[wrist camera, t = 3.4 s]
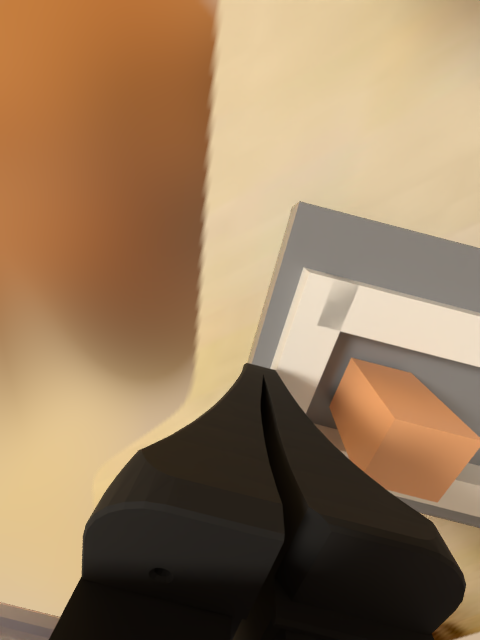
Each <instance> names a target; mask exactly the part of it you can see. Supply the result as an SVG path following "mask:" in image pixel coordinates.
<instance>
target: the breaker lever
mask: <svg viewBox="0 0 480 640" xmlns="http://www.w3.org/2000/svg"><path fill="white" fill-rule="evenodd" d="M329 408H330V411H331V413H332V416H333V418H334V421H335V423H336V426H337V429H338V431H339V434H340V436H341V439H342V442H343V444H344V447H345V449H346V452H347V454H348V457H349V459H350V460H351V461H352V462H353V463H354V464H355V465H356V466H358V467H359V468H360V469H361V470H362V471H363V472H365V473H366V474H367V475H368V476H370V477H371V478H372V479H373V480H375V481H376V482H377V483H379V484H380V485H381V486H382V487H384V488H385V489H386V490H390V491H394V492H398V493H402V494H405V495H409V496H413V497H417V498H421V499H425V500H429V501H433V502H437V503H438V501H439V500H440V499H441V497H442V496H443V495H444V494H445V492H446V491H447V490H448V488H449V487H450V486H451V484H452V483H453V482H454V481H455V479H456V478H457V477H458V475H459V474H460V473H461V471H462V470H463V469H464V467H465V466H466V465H467V464H468V462H469V461H470V460H471V458H472V457H473V456H474V454H475V453H476V452H477V451H478V449H479V448H480V437H479V436H478V435H477V434H476V433H475V432H473V431H472V430H471V429H470V428H469V427H468V426H467V425H466V424H465V423H464V422H463V421H462V420H461V419H460V418H459V417H458V416H456V415H455V414H454V413H453V412H452V411H451V410H450V409H449V408H448V407H447V406H446V405H445V404H444V403H443V402H442V401H441V400H439V399H438V398H437V397H436V396H435V395H434V394H433V393H432V392H431V391H430V390H429V389H428V388H427V387H426V386H425V385H424V384H422V383H421V382H420V381H419V380H418V379H417V378H416V377H415V376H414V375H413V374H412V373H409V372H406V371H402V370H398V369H394V368H390V367H386V366H382V365H378V364H374V363H370V362H367V361H363V360H359V359H355V358H351V359H350V361H349V364H348V366H347V368H346V370H345V373H344V375H343V377H342V379H341V381H340V384H339V386H338V388H337V390H336V392H335V395H334V397H333V399H332V401H331V404H330V406H329Z"/></svg>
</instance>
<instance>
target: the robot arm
mask: <svg viewBox="0 0 480 640" xmlns="http://www.w3.org/2000/svg"><path fill="white" fill-rule="evenodd" d="M465 588H466V583H465V579H464V575H463V573H462V571H461V569H460V567H459V566H458V564H457V562H456V561H455V559H454V557H453V556H452V554H451V552H450V550H449V549H448V547H447V545H446V544H445V542H444V540H443V539H442V537H441V535H440V534H439V532H438V530H437V528H436V527H435V525H434V524H433V522H431V521H430V520H428V519H427V518H426V517H424V516H423V515H421V514H420V513H419V512H417V511H416V510H414V509H413V508H411V507H410V506H409V505H407V504H406V503H404V502H403V501H401V500H400V499H399V498H397V497H396V496H394V495H393V494H391V493H390V492H389V491H387V490H386V489H385V488H384V487H382V486H381V485H380V484H379V483H377V482H376V481H375V480H373V479H372V478H371V477H370V476H368V475H367V474H366V473H365V472H363V471H362V470H361V469H360V468H359V467H358V466H356V465H355V464H354V463H353V462H352V461H351V460H350V459H348V458H347V457H346V456H345V455H344V454H343V453H342V452H341V451H340V450H339V449H338V448H336V447H335V446H334V445H333V444H332V443H331V442H330V441H329V440H328V439H327V438H326V436H325V435H324V434H323V433H322V432H321V431H320V430H319V429H318V428H317V427H316V426H315V425H314V423H313V422H312V421H311V420H310V419H309V417H308V416H307V415H306V414H305V412H304V411H303V410H302V409H301V407H300V406H299V405H298V403H297V402H296V400H295V399H294V398H293V396H292V395H291V393H290V392H289V390H288V389H287V387H286V386H285V384H284V383H283V381H282V379H281V378H280V376H279V375H278V373H277V372H276V370H273V369H269V368H265V367H261V366H258V365H254V364H250V363H246V364H244V367H243V370H242V373H241V374H240V376H239V378H238V379H237V380H236V382H235V383H234V385H233V386H232V387H231V388H230V389H229V391H228V392H227V393H226V394H225V395H224V396H223V397H222V398H221V399H220V400H219V401H218V402H217V403H216V404H215V405H214V406H213V407H212V408H210V409H209V410H208V411H207V412H206V413H204V414H203V415H202V416H200V417H199V418H198V419H196V420H195V421H193V422H192V423H190V424H189V425H187V426H185V427H184V428H182V429H180V430H179V431H177V432H175V433H174V434H172V435H170V436H168V437H167V438H164V439H162V440H160V441H158V442H156V443H154V444H152V445H150V446H148V447H145V448H143V449H141V450H139V451H138V452H137V453H136V454H135V455H134V456H133V457H132V458H131V460H130V461H129V462H128V463H127V464H126V465H125V467H124V468H123V469H122V470H121V472H120V473H119V474H118V475H117V477H116V478H115V479H114V481H113V482H112V483H111V485H110V486H109V487H108V489H107V490H106V492H105V493H104V495H103V497H102V498H101V500H100V502H99V503H98V505H97V507H96V508H95V510H94V512H93V513H92V515H91V517H90V519H89V520H88V522H87V524H86V526H85V530H84V534H83V551H82V577H81V579H80V581H79V583H78V584H77V586H76V588H75V590H74V592H73V594H72V596H71V598H70V600H69V602H68V604H67V605H66V607H65V609H64V611H63V613H62V615H61V617H58V616H54V615H50V614H46V613H41V612H38V611H34V610H30V609H25V608H22V607H17V606H13V605H10V604H5V603H1V602H0V640H434V638H433V636H432V633H433V632H434V631H435V630H436V629H437V628H438V627H439V626H440V625H441V624H442V623H443V622H444V621H445V620H446V619H447V618H448V617H449V616H450V615H451V614H452V613H453V612H454V611H455V610H456V609H457V608H458V606H459V605H460V603H461V602H462V601H463V597H464V592H465Z"/></svg>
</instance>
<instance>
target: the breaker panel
mask: <svg viewBox="0 0 480 640" xmlns="http://www.w3.org/2000/svg"><path fill="white" fill-rule="evenodd" d="M351 358H355V359H359V360H363V361H367V362H370V363H374V364H378V365H382V366H386V367H390V368H394V369H398V370H402V371H406V372H409V373H412V374H413V375H414V376H415V377H416V378H417V379H418V380H419V381H420V382H421V383H422V384H424V385H425V386H426V387H427V388H428V389H429V390H430V391H431V392H432V393H433V394H434V395H435V396H436V397H437V398H438V399H439V400H441V401H442V402H443V403H444V404H445V405H446V406H447V407H448V408H449V409H450V410H451V411H452V412H453V413H454V414H455V415H456V416H458V417H459V418H460V419H461V420H462V421H463V422H464V423H465V424H466V425H467V426H468V427H469V428H470V429H471V430H472V431H473V432H475V433H476V434H477V435H478V436H479V437H480V248H477V247H473V246H469V245H465V244H461V243H458V242H454V241H450V240H446V239H442V238H438V237H434V236H431V235H427V234H423V233H419V232H415V231H411V230H408V229H404V228H400V227H396V226H392V225H388V224H385V223H381V222H377V221H373V220H369V219H365V218H361V217H358V216H354V215H350V214H346V213H342V212H338V211H335V210H331V209H327V208H323V207H319V206H315V205H311V204H308V203H304V202H298V203H297V204H296V205H294V206H293V207H292V210H291V214H290V217H289V221H288V224H287V228H286V231H285V235H284V238H283V242H282V245H281V248H280V252H279V255H278V259H277V262H276V266H275V269H274V273H273V276H272V280H271V283H270V287H269V290H268V293H267V297H266V300H265V304H264V307H263V311H262V314H261V318H260V321H259V325H258V328H257V332H256V335H255V338H254V342H253V345H252V349H251V352H250V356H249V359H248V363H250V364H254V365H258V366H261V367H265V368H269V369H273V370H276V372H277V373H278V375H279V376H280V378H281V379H282V381H283V383H284V384H285V386H286V387H287V389H288V390H289V392H290V393H291V395H292V396H293V398H294V399H295V400H296V402H297V403H298V405H299V406H300V407H301V409H302V410H303V411H304V412H305V414H306V415H307V416H308V417H309V419H310V420H311V421H312V422H313V423H314V425H315V426H316V427H317V428H318V429H319V430H320V431H321V432H322V433H323V434H324V435H325V436H326V438H327V439H328V440H329V441H330V442H331V443H332V444H333V445H334V446H335V447H336V448H338V449H339V450H340V451H341V452H342V453H343V454H344V455H345V456H346V457H347V458H348V459H349V457H348V454H347V452H346V449H345V447H344V444H343V442H342V439H341V436H340V434H339V431H338V429H337V426H336V423H335V421H334V418H333V416H332V413H331V411H330V408H329V406H330V404H331V401H332V399H333V397H334V395H335V392H336V390H337V388H338V386H339V384H340V381H341V379H342V377H343V375H344V373H345V370H346V368H347V366H348V364H349V361H350V359H351ZM387 491H389V492H390V493H391V494H393V495H394V496H396V497H397V498H399V499H400V500H401V501H403V502H404V503H406V504H407V505H409V506H410V507H411V508H413V509H414V510H416V511H417V512H419V513H423V514H427V515H431V516H435V517H439V518H442V519H446V520H450V521H454V522H458V523H462V524H466V525H470V526H474V527H478V528H480V448H479V449H478V451H477V452H476V453H475V454H474V456H473V457H472V458H471V460H470V461H469V462H468V464H467V465H466V466H465V467H464V469H463V470H462V471H461V473H460V474H459V475H458V477H457V478H456V479H455V481H454V482H453V483H452V484H451V486H450V487H449V488H448V490H447V491H446V492H445V494H444V495H443V496H442V497H441V499H440V500H439V501H438V503H437V502H433V501H429V500H425V499H421V498H417V497H413V496H409V495H405V494H402V493H398V492H394V491H390V490H387Z"/></svg>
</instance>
